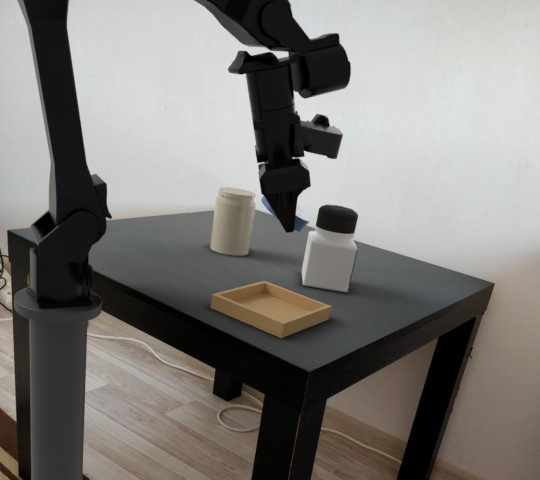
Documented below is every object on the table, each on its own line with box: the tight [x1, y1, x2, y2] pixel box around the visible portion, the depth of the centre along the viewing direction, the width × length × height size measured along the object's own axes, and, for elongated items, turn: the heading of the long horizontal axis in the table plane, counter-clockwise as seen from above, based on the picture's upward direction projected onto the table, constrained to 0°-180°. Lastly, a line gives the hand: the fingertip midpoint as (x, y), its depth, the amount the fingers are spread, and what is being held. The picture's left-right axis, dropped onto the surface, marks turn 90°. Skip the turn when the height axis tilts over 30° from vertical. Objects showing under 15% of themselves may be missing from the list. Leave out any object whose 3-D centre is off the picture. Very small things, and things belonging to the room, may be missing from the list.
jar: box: [209, 186, 257, 257], centre depth 99 cm, size 7×7×10 cm
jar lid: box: [260, 195, 311, 233], centre depth 82 cm, size 7×7×2 cm
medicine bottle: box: [301, 204, 359, 293], centre depth 90 cm, size 7×7×12 cm
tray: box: [210, 280, 332, 339], centre depth 75 cm, size 11×11×2 cm
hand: (287, 222), depth 83 cm, fingers closed on jar lid, 7 cm apart
